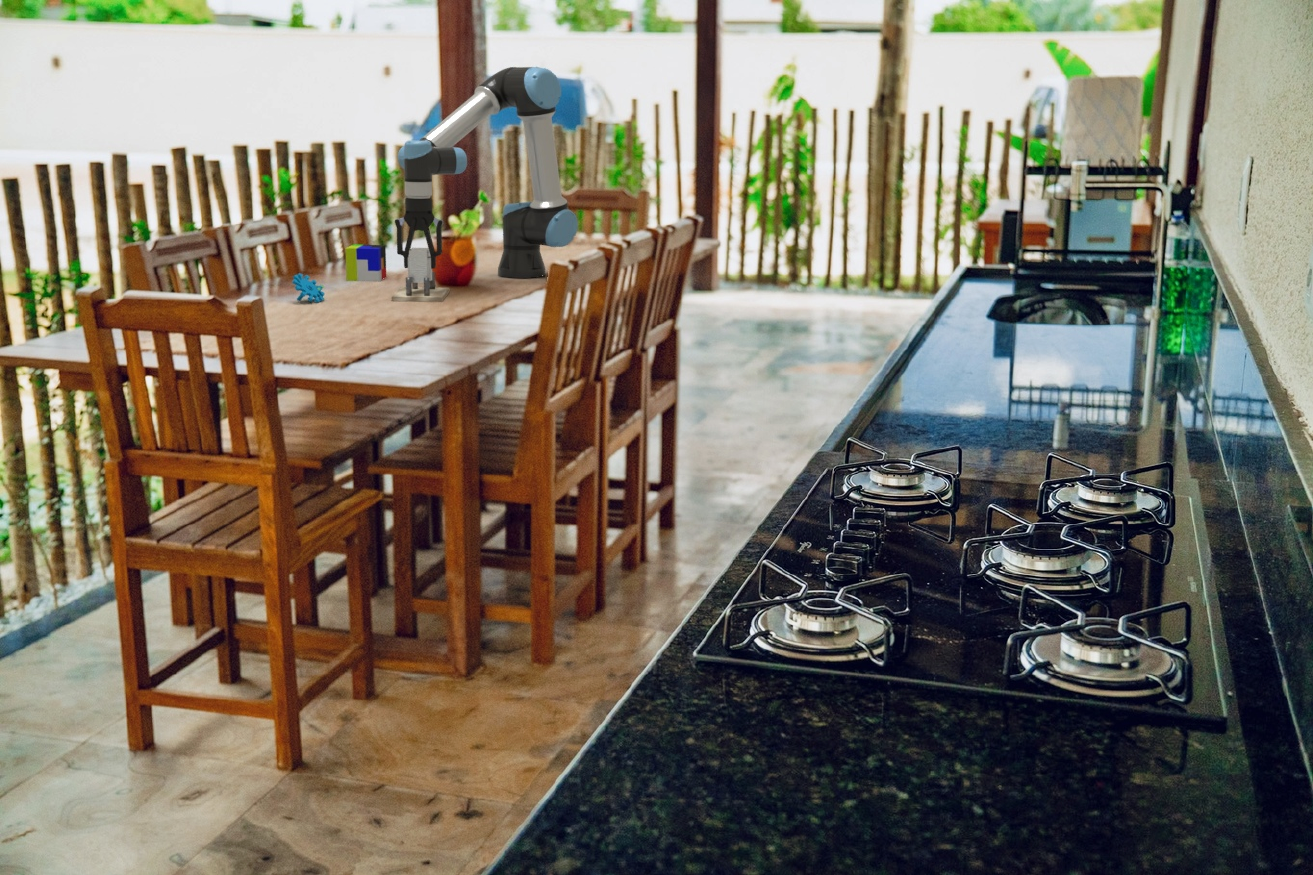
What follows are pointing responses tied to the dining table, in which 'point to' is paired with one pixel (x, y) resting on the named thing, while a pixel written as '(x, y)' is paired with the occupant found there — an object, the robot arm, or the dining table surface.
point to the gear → (308, 288)
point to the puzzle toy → (365, 262)
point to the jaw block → (418, 264)
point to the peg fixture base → (421, 291)
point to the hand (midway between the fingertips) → (420, 279)
